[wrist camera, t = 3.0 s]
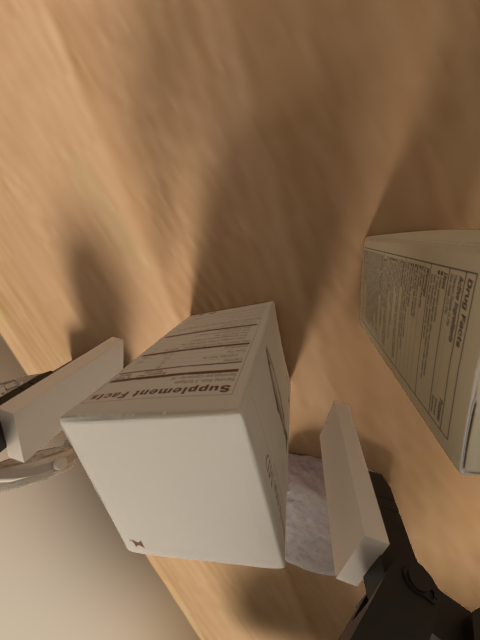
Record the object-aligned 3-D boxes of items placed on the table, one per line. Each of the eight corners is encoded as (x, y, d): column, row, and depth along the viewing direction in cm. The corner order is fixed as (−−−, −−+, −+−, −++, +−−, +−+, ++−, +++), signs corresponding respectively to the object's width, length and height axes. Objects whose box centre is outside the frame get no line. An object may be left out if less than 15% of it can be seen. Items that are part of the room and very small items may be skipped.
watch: (100, 411, 27) (-19, 522, 17) (62, 344, 24) (-100, 426, 14) (143, 404, 25) (40, 523, 15) (106, 332, 23) (-42, 415, 13)
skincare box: (426, 322, 17) (677, 505, 6) (355, 324, 18) (454, 482, 7) (440, 224, 15) (871, 214, 4) (360, 232, 16) (511, 244, 5)
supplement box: (292, 382, 21) (289, 579, 9) (210, 388, 23) (121, 556, 11) (277, 297, 19) (246, 413, 7) (187, 312, 20) (46, 422, 9)
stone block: (379, 449, 24) (274, 445, 23) (411, 503, 19) (282, 500, 19) (352, 525, 28) (264, 522, 28) (373, 582, 24) (268, 580, 24)
